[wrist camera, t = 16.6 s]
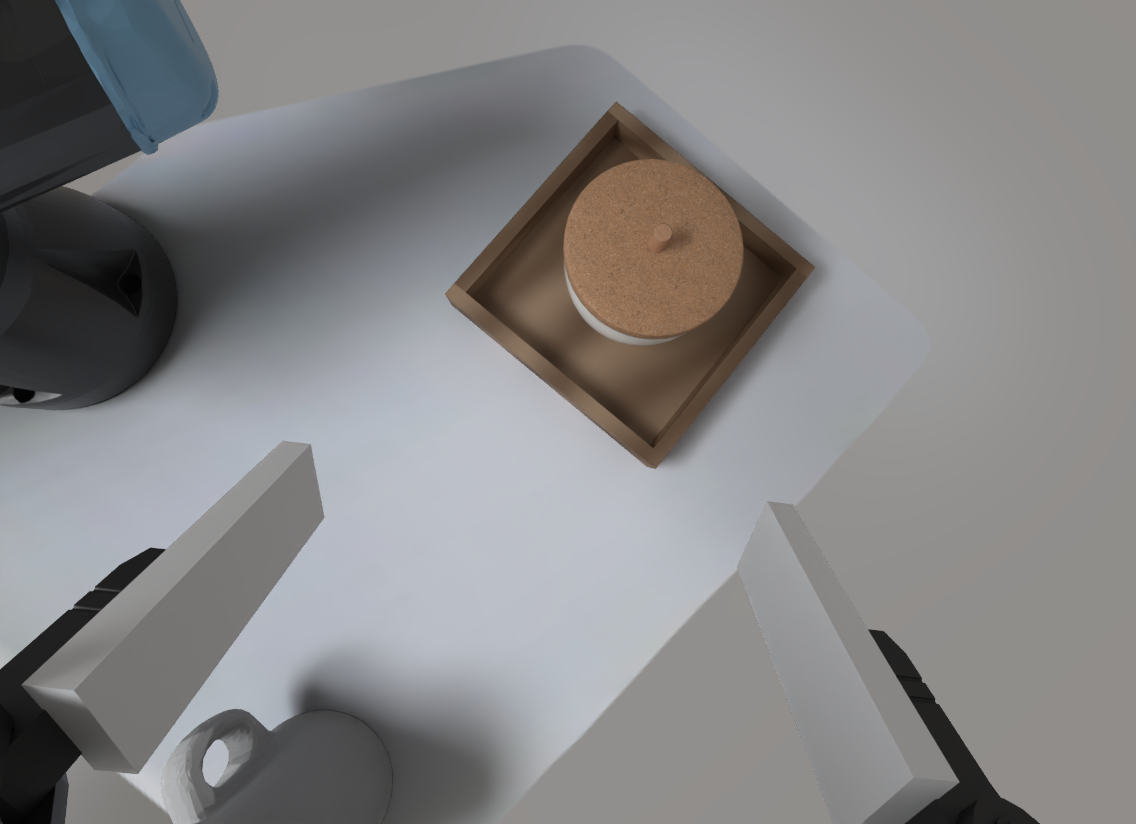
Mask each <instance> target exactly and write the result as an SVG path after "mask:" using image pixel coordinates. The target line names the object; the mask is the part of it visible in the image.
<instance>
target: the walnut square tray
mask: <svg viewBox="0 0 1136 824" xmlns="http://www.w3.org/2000/svg"><path fill="white" fill-rule="evenodd" d="M644 159H657V160H665V161H670V162H674V163H678V164H682V165H684V166H686V167H688V168H690V169H693V170H695V171H696V172H698V173H699V174H701V175H703V176H704V177H706V176H705V175H704V174H703V173H702V172H700V171H699V170H698V169H697V168H696V167H694V166H693V165H692V164H691V163H690V162H688V161H687V160H686V159H685V158H684V157H682V156H681V155H680V154H679V153H678V152H676V151H675V150H674V149H673V148H672V147H670V146H669V145H668V144H667V143H666V142H664V141H663V140H662V139H661V138H660V137H658V136H657V135H656V134H655V133H654V132H652V131H651V130H650V129H649V128H648V127H646V126H645V125H644V124H643V123H642V122H640V121H639V120H638V119H637V118H636V117H634V116H633V115H632V114H631V113H630V112H628V111H627V110H626V109H625V108H624V107H622V106H621V105H620V104H619V103H618V102H615V103H614V104H613V106H612V107H611V108H610V109H609V110H608V111H607V112H606V113H605V115H604V116H603V117H602V118H601V119H600V120H599V121H598V122H597V124H596V125H595V126H594V127H593V128H592V129H591V130H590V131H589V133H588V134H587V135H586V136H585V137H584V138H583V139H582V140H581V142H580V143H579V144H578V145H577V146H576V147H575V148H574V149H573V150H572V152H571V153H570V154H569V155H568V156H567V157H566V158H565V159H564V161H563V162H562V163H561V164H560V165H559V166H558V167H557V168H556V170H555V171H554V172H553V173H552V174H551V175H550V176H549V177H548V179H547V180H546V181H545V182H544V183H543V184H542V185H541V186H540V188H539V189H538V190H537V191H536V192H535V193H534V194H533V195H532V197H531V198H530V199H529V200H528V201H527V202H526V203H525V204H524V206H523V207H522V208H521V209H520V210H519V211H518V212H517V213H516V215H515V216H514V217H513V218H512V219H511V220H510V221H509V222H508V224H507V225H506V226H505V227H504V228H503V229H502V230H501V231H500V233H499V234H498V235H497V236H496V237H495V238H494V239H493V240H492V242H491V243H490V244H489V245H488V246H487V247H486V248H485V249H484V251H483V252H482V253H481V254H480V255H479V256H478V257H477V258H476V260H475V261H474V262H473V263H472V264H471V265H470V266H469V267H468V269H467V270H466V271H465V272H464V273H463V274H462V275H461V276H460V278H459V279H458V280H457V281H456V282H455V283H454V284H453V285H452V287H451V288H450V289H449V290H448V291H447V292H446V293H445V295H446V297H447V298H448V300H449V301H450V303H451V304H452V306H454V307H455V308H456V309H457V310H459V311H460V312H461V313H462V314H463V315H465V316H466V317H467V318H468V319H469V320H471V321H472V322H473V323H474V324H475V325H477V326H478V327H479V328H480V329H481V330H483V331H484V332H485V333H486V334H487V335H489V336H490V337H491V338H492V339H494V340H495V341H496V342H497V343H498V344H500V345H501V346H502V347H503V348H504V349H506V350H507V351H508V352H509V353H510V354H512V355H513V356H514V357H515V358H516V359H518V360H519V361H520V362H521V363H522V364H524V365H525V366H526V367H527V368H529V369H530V370H531V371H532V372H533V373H535V374H536V375H537V376H538V377H539V378H541V379H542V380H543V381H544V382H545V383H547V384H548V385H549V386H550V387H551V388H553V389H554V390H555V391H556V392H557V393H559V394H560V395H561V396H562V397H564V398H565V399H566V400H567V401H568V402H570V403H571V404H572V405H573V406H574V407H576V408H577V409H578V410H579V411H580V412H582V413H583V414H584V415H585V416H586V417H588V418H589V419H590V420H591V421H592V422H594V423H595V424H596V425H597V426H599V427H600V428H601V429H602V430H603V431H605V432H606V433H607V434H608V435H609V436H611V437H612V438H613V439H614V440H615V441H617V442H618V443H619V444H620V445H621V446H623V447H624V448H625V449H626V450H627V451H629V452H630V453H631V454H632V455H634V456H635V457H636V458H637V459H638V460H640V461H641V462H642V463H643V464H644V465H646V466H647V467H650V468H655V469H656V468H657V467H658V465H659V464H660V463H661V462H662V460H663V459H664V458H665V456H666V455H667V454H668V453H669V451H670V450H671V449H672V448H673V446H674V445H675V444H676V443H677V441H678V440H679V439H680V438H681V436H682V435H683V434H684V432H685V431H686V430H687V429H688V427H689V426H690V425H691V424H692V422H693V421H694V420H695V419H696V417H697V416H698V415H699V414H700V412H701V411H702V410H703V408H704V407H705V406H706V405H707V403H708V402H709V401H710V400H711V398H712V397H713V396H714V395H715V393H716V392H717V391H718V390H719V388H720V387H721V386H722V384H723V383H724V382H725V381H726V379H727V378H728V377H729V376H730V374H731V373H732V372H733V371H734V369H735V368H736V367H737V366H738V364H739V363H740V362H741V360H742V359H743V358H744V357H745V355H746V354H747V353H748V352H749V350H750V349H751V348H752V347H753V345H754V344H755V343H756V342H757V340H758V339H759V338H760V336H761V335H762V334H763V333H764V331H765V330H766V329H767V328H768V326H769V325H770V324H771V323H772V321H773V320H774V319H775V318H776V316H777V315H778V314H779V312H780V311H781V310H782V309H783V307H784V306H785V305H786V304H787V302H788V301H789V300H790V299H791V297H792V296H793V295H794V294H795V292H796V291H797V290H798V288H799V287H800V286H801V285H802V283H803V282H804V281H805V280H806V278H807V277H808V276H809V275H810V273H811V272H812V271H813V270H814V268H815V267H814V266H813V265H812V264H811V263H809V262H808V261H807V260H806V259H805V258H803V257H802V256H801V255H800V254H799V253H797V252H796V251H795V250H794V249H793V248H791V247H790V246H789V245H788V244H787V243H785V242H784V241H783V240H782V239H781V238H779V237H778V236H777V235H776V234H775V233H773V232H772V231H771V230H770V229H769V228H767V227H766V226H765V225H764V224H763V223H761V222H760V221H759V220H758V219H757V218H755V217H754V216H753V215H752V214H751V213H750V212H748V211H747V210H746V209H745V208H744V207H742V206H741V205H740V204H739V203H738V202H736V201H735V200H734V199H733V198H732V197H730V196H729V195H728V194H727V193H726V192H724V191H723V190H722V189H721V188H720V187H718V186H717V185H716V184H715V183H714V182H712V181H711V180H710V179H709V178H708V177H706V178H707V179H708V180H709V181H710V182H712V183H713V184H714V185H715V186H716V187H717V188H718V189H719V190H720V191H721V193H722V194H723V195H724V196H725V197H726V199H727V200H728V202H729V204H730V205H731V207H732V208H733V210H734V213H735V215H736V217H737V219H738V222H739V225H740V229H741V233H742V238H743V247H744V253H743V265H742V270H741V275H740V278H739V280H738V283H737V286H736V288H735V290H734V292H733V294H732V295H731V297H730V299H729V300H728V302H727V303H726V304H725V305H724V306H723V308H722V309H721V310H720V311H719V312H718V313H717V314H716V315H715V316H713V317H712V318H711V319H710V320H709V321H707V322H706V323H704V324H703V325H701V326H699V327H698V328H696V329H695V330H692V331H690V332H688V333H686V334H684V335H682V336H680V337H678V338H676V339H673V340H671V341H668V342H664V343H660V344H656V345H647V346H637V345H627V344H623V343H619V342H616V341H613V340H611V339H608V338H606V337H605V336H603V335H601V334H600V333H598V332H597V331H595V330H594V329H593V328H592V327H591V326H590V325H588V323H587V322H586V321H585V320H584V319H583V318H582V317H581V315H580V314H579V312H578V310H577V309H576V307H575V305H574V304H573V301H572V299H571V297H570V294H569V292H568V288H567V284H566V279H565V272H564V253H563V245H564V233H565V228H566V224H567V220H568V216H569V214H570V211H571V209H572V207H573V204H574V203H575V201H576V200H577V198H578V197H579V195H580V193H581V192H582V191H583V190H584V189H585V188H586V187H587V185H588V184H589V183H590V182H591V181H593V180H594V179H595V178H596V177H598V176H599V175H600V174H602V173H603V172H605V171H607V170H609V169H610V168H612V167H615V166H617V165H620V164H623V163H625V162H630V161H635V160H644Z"/></svg>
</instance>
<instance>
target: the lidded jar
mask: <svg viewBox="0 0 1136 824" xmlns="http://www.w3.org/2000/svg"><path fill="white" fill-rule="evenodd" d="M563 253H564V272H565V279H566V284H567V288H568V292H569V294H570V297H571V299H572V301H573V304H574V305H575V307H576V309H577V310H578V312H579V314H580V315H581V317H582V318H583V319H584V320H585V321H586V322H587V323H588V325H590V326H591V327H592V328H593V329H594V330H595V331H597V332H598V333H600V334H601V335H603V336H605V337H606V338H608V339H611V340H613V341H616V342H619V343H623V344H627V345H637V346H647V345H656V344H660V343H664V342H668V341H671V340H673V339H676V338H678V337H680V336H682V335H684V334H686V333H688V332H690V331H692V330H695V329H696V328H698V327H699V326H701V325H703V324H704V323H706V322H707V321H709V320H710V319H711V318H712V317H713V316H715V315H716V314H717V313H718V312H719V311H720V310H721V309H722V308H723V306H724V305H725V304H726V303H727V302H728V300H729V299H730V297H731V295H732V294H733V292H734V290H735V288H736V286H737V283H738V280H739V278H740V275H741V270H742V265H743V253H744V247H743V238H742V233H741V229H740V225H739V222H738V219H737V217H736V215H735V213H734V210H733V208H732V207H731V205H730V204H729V202H728V200H727V199H726V197H725V196H724V195H723V194H722V193H721V191H720V190H719V189H718V188H717V187H716V186H715V185H714V184H713V183H712V182H710V181H709V180H708V179H707V178H706V177H704V176H703V175H701V174H699V173H698V172H696V171H695V170H693V169H690V168H688V167H686V166H684V165H682V164H678V163H674V162H670V161H665V160H657V159H644V160H635V161H630V162H625V163H623V164H620V165H617V166H615V167H612V168H610V169H609V170H607V171H605V172H603V173H602V174H600V175H599V176H598V177H596V178H595V179H594V180H593V181H591V182H590V183H589V184H588V185H587V187H586V188H585V189H584V190H583V191H582V192H581V193H580V195H579V197H578V198H577V200H576V201H575V203H574V204H573V207H572V209H571V211H570V214H569V216H568V220H567V224H566V228H565V233H564V245H563Z"/></svg>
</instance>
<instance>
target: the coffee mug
mask: <svg viewBox="0 0 1136 824" xmlns="http://www.w3.org/2000/svg"><path fill="white" fill-rule="evenodd" d="M218 739H220V740H222V741H223V742H224V743H225V745H226V747H227V748H228V751H229V761H228V765H227V767H226V769H225V771H224V774H223V775H222V777H221V778H220V780H219V781H218V783H217V784H216V785H215V786H214V787H212V786H210V785H209V784H208V783H207V782H205V779H204V776H203V772H202V766H203V758H204V756H205V754H206V751H207V750H208V748H209V747H210V746H211V744H212V743H213V742H214V741H215V740H218ZM161 779H162V781H161V787H162V796H163V799H164V803H165V806H166V809H167V811H168V813H169V815H170V817H171V819H172V821H173V823H174V824H382V821H383V819H384V816H385V814H386V812H387V809H388V806H389V803H390V799H391V794H392V783H393V776H392V768H391V763H390V759H389V756H388V753H387V751H386V748H385V747H384V745H383V743H382V742H381V740H380V739H379V737H378V736H377V735H376V733H375V732H374V731H373V730H372V729H370V728H369V727H368V726H367V725H366V724H365V723H363V722H362V721H361V720H359V719H357V718H355V717H353V716H351V715H348V714H345V713H342V712H336V711H325V710H321V711H312V712H307V713H303V714H300V715H297V716H295V717H293V718H291V719H288V720H286V721H285V722H283V723H281V724H280V725H278V726H277V727H276V728H274V729H273V730H272V731H268V730H267V729H266V728H265V727H264V726H263V725H262V724H261V723H260V722H259V721H258V720H257V719H256V718H254V717H253V716H252V715H251V714H250V713H249V712H246V711H244V710H242V709H232V710H227V711H224V712H222V713H219V714H217V715H215V716H213V717H211V718H210V719H208V720H206V721H205V722H203V723H201V724H200V725H199V726H197V727H196V728H195V729H194V730H193V731H191V732H190V733H189V734H188V735H187V736H186V737H185V738H184V739H183V740H182V741H181V742H180V743H179V745H178V746H177V747H176V748H175V749H174V751H173V752H172V753H171V755H170V757H169V759H168V761H167V763H166V765H165V767H164V771H163V774H162V778H161Z"/></svg>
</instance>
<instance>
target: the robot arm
mask: <svg viewBox="0 0 1136 824" xmlns="http://www.w3.org/2000/svg"><path fill="white" fill-rule="evenodd" d="M217 101H218V83H217V79H216V75H215V72H214V69H213V66H212V63H211V61H210V58H209V56H208V54H207V52H206V50H205V47H204V45H203V43H202V41H201V39H200V37H199V35H198V33H197V31H196V29H195V27H194V26H193V24H192V22H191V20H190V18H189V16H188V14H187V12H186V11H185V9H184V7H183V5H182V3H181V2H180V0H0V405H1V406H7V407H16V408H31V409H45V410H66V409H74V408H80V407H85V406H89V405H92V404H96V403H98V402H101V401H104V400H106V399H108V398H111V397H113V396H115V395H116V394H118V393H120V392H122V391H123V390H125V389H126V388H128V387H129V386H131V385H132V384H133V383H135V382H136V381H137V380H138V379H139V378H140V377H142V376H143V375H144V374H145V373H146V372H147V371H148V369H149V368H150V367H151V366H152V365H153V364H154V362H155V361H156V360H157V358H158V357H159V355H160V354H161V352H162V350H163V349H164V347H165V345H166V343H167V341H168V338H169V336H170V333H171V330H172V327H173V324H174V319H175V314H176V302H177V297H176V285H175V280H174V276H173V272H172V269H171V266H170V264H169V261H168V259H167V257H166V255H165V253H164V252H163V250H162V248H161V247H160V245H159V244H158V242H157V241H156V240H155V239H154V237H153V236H152V235H151V234H150V233H149V232H148V231H147V230H146V229H145V228H144V227H143V226H141V225H140V224H139V223H138V222H136V221H135V220H133V219H132V218H130V217H129V216H127V215H125V214H123V213H122V212H120V211H118V210H116V209H114V208H113V207H111V206H109V205H107V204H105V203H103V202H102V201H100V200H98V199H96V198H94V197H92V196H89V195H87V194H84V193H81V192H79V191H76V190H74V189H71V188H67V187H63V185H65V184H67V183H69V182H71V181H74V180H76V179H78V178H81V177H83V176H85V175H87V174H90V173H92V172H94V171H96V170H99V169H101V168H103V167H105V166H107V165H110V164H112V163H114V162H117V161H119V160H121V159H123V158H126V157H128V156H130V155H132V154H135V153H137V152H139V151H141V150H142V152H143V153H146V154H147V155H149V154H153V153H155V152H156V151H157V150H158V144H159V143H161V142H163V141H165V140H167V139H169V138H171V137H173V136H175V135H177V134H179V133H181V132H183V131H185V130H187V129H189V128H191V127H193V126H195V125H197V124H198V123H200V122H202V121H204V120H205V119H207V118H208V117H209V116H210V115H211V114H212V113H213V111H214V110H215V108H216V105H217ZM323 519H324V513H323V507H322V502H321V497H320V492H319V486H318V481H317V476H316V471H315V465H314V460H313V455H312V450H311V444H304V443H296V442H288V441H282V442H281V443H280V444H279V445H278V446H277V447H276V448H275V449H273V450H272V451H271V452H270V453H269V454H268V455H267V456H266V457H265V458H264V459H263V460H262V461H261V462H260V463H258V464H257V465H256V466H255V467H254V468H253V469H252V470H251V471H250V472H249V473H248V474H247V475H246V476H245V477H243V478H242V479H241V480H240V481H239V482H238V483H237V484H236V485H235V486H234V487H233V488H232V489H231V490H230V491H229V492H227V493H226V494H225V495H224V496H223V497H222V498H221V499H220V500H219V501H218V502H217V503H216V504H215V505H214V506H212V507H211V508H210V509H209V510H208V511H207V512H206V513H205V514H204V515H203V516H202V517H201V518H200V519H199V520H197V521H196V522H195V523H194V524H193V525H192V526H191V527H190V528H189V529H188V530H187V531H186V532H185V533H184V534H182V535H181V536H180V537H179V538H178V539H177V540H176V541H175V542H174V543H173V544H172V545H171V546H170V547H169V548H167V549H158V548H149V549H147V550H146V551H144V552H142V553H140V554H139V555H137V556H135V557H133V558H131V559H130V560H128V561H126V562H124V563H123V564H121V565H119V566H118V567H117V568H116V569H115V570H114V571H112V572H111V573H110V574H109V575H108V576H107V577H106V578H104V579H103V580H102V581H101V582H100V583H99V584H98V585H96V586H95V589H94V591H90V592H88V593H87V594H86V595H85V596H84V597H83V598H82V599H80V600H79V601H78V602H77V603H76V604H75V605H74V608H73V609H72V610H68V611H67V612H66V613H64V614H63V615H62V616H61V617H60V618H59V619H57V620H56V621H55V622H54V623H53V624H52V625H51V626H49V627H48V628H47V629H46V630H45V631H44V632H43V633H41V634H40V635H39V636H38V637H37V638H36V639H35V640H33V641H32V642H31V643H30V644H29V645H28V646H27V647H25V648H24V649H23V650H22V651H21V652H20V653H19V654H17V655H16V656H15V657H14V658H13V659H12V660H11V661H9V662H8V663H7V664H6V665H5V666H4V667H3V668H1V669H0V824H65V816H66V806H67V797H68V787H69V784H68V780H67V775H66V772H67V770H68V769H69V768H70V767H71V766H72V764H73V763H74V762H75V761H76V760H77V759H78V757H79V756H80V755H82V756H83V757H84V758H85V760H86V761H87V762H88V763H89V764H90V765H91V767H93V769H94V770H102V771H112V772H122V773H132V774H138V773H139V772H140V770H141V769H142V768H143V766H144V765H145V764H146V762H147V761H148V759H149V758H150V757H151V755H152V754H153V753H154V751H155V750H156V748H157V747H158V746H159V744H160V743H161V742H162V740H163V739H164V737H165V736H166V735H167V733H168V732H169V730H170V729H171V728H172V726H173V725H174V724H175V722H176V721H177V719H178V718H179V717H180V715H181V714H182V713H183V711H184V710H185V708H186V707H187V706H188V704H189V703H190V702H191V700H192V699H193V697H194V696H195V695H196V693H197V692H198V691H199V689H200V688H201V686H202V685H203V684H204V682H205V681H206V680H207V678H208V677H209V675H210V674H211V673H212V671H213V670H214V669H215V667H216V666H217V664H218V663H219V662H220V660H221V659H222V658H223V656H224V655H225V653H226V652H227V651H228V649H229V648H230V647H231V645H232V644H233V642H234V641H235V640H236V638H237V637H238V636H239V634H240V633H241V631H242V630H243V629H244V627H245V626H246V625H247V623H248V622H249V620H250V619H251V618H252V616H253V615H254V614H255V612H256V611H257V609H258V608H259V607H260V605H261V604H262V603H263V601H264V600H265V598H266V597H267V596H268V594H269V593H270V591H271V590H272V589H273V587H274V586H275V585H276V583H277V582H278V580H279V579H280V578H281V576H282V575H283V574H284V572H285V571H286V569H287V568H288V567H289V565H290V564H291V563H292V561H293V560H294V558H295V557H296V556H297V554H298V553H299V552H300V550H301V549H302V547H303V546H304V545H305V543H306V542H307V541H308V539H309V538H310V536H311V535H312V534H313V532H314V531H315V530H316V528H317V527H318V525H319V524H320V523H321V521H322V520H323ZM737 568H738V571H739V573H740V576H741V579H742V581H743V584H744V587H745V589H746V592H747V595H748V597H749V600H750V602H751V605H752V608H753V611H754V613H755V616H756V619H757V622H758V624H759V627H760V630H761V632H762V635H763V637H764V640H765V643H766V646H767V648H768V651H769V654H770V656H771V659H772V662H773V664H774V667H775V670H776V672H777V675H778V678H779V681H780V683H781V686H782V688H783V691H784V694H785V697H786V699H787V702H788V705H789V707H790V710H791V712H792V715H793V718H794V721H795V723H796V726H797V728H798V731H799V734H800V737H801V739H802V742H803V744H804V747H805V750H806V753H807V755H808V758H809V761H810V763H811V766H812V769H813V772H814V774H815V777H816V780H817V782H818V785H819V788H820V790H821V793H822V796H823V798H824V801H825V804H826V806H827V809H828V812H829V815H830V817H831V820H832V822H833V824H1040V823H1038V822H1037V821H1036V820H1035V819H1034V818H1032V817H1031V816H1030V815H1029V814H1028V813H1026V812H1025V811H1024V810H1023V809H1021V808H1020V807H1018V806H1016V805H1014V804H1012V803H1010V802H1009V801H1007V800H1005V799H1003V798H1001V797H1000V796H999V795H998V793H997V792H996V791H995V789H994V788H993V787H992V785H991V784H990V782H989V781H988V779H987V778H986V776H985V775H984V773H983V772H982V770H981V768H980V767H979V765H978V764H977V762H976V761H975V759H974V758H973V756H972V755H971V753H970V751H969V750H968V749H967V747H966V746H965V744H964V742H963V741H962V739H961V738H960V736H959V735H958V733H957V731H956V730H955V728H954V727H953V725H952V724H951V722H950V721H949V719H948V718H947V716H946V715H945V713H944V712H943V710H942V708H941V707H940V705H939V704H936V702H935V698H934V696H933V694H932V693H931V692H930V690H929V688H928V687H927V685H926V684H925V683H923V682H922V678H921V676H920V675H919V673H918V671H917V670H916V668H915V667H914V665H913V664H912V662H911V661H910V659H909V658H908V656H907V654H906V653H905V652H904V651H903V650H902V649H901V648H900V647H899V646H898V645H897V644H896V643H895V642H894V641H893V640H892V639H891V638H890V637H889V636H888V635H887V634H886V633H885V632H884V631H877V630H869V629H867V627H866V626H865V624H864V622H863V621H862V619H861V617H860V616H859V614H858V612H857V611H856V609H855V607H854V606H853V604H852V602H851V601H850V599H849V597H848V596H847V594H846V592H845V591H844V589H843V587H842V586H841V584H840V583H839V581H838V579H837V577H836V576H835V574H834V572H833V571H832V569H831V568H830V566H829V564H828V562H827V561H826V559H825V557H824V556H823V554H822V552H821V551H820V549H819V547H818V546H817V544H816V542H815V541H814V539H813V538H812V536H811V534H810V533H809V531H808V529H807V527H806V526H805V524H804V523H803V521H802V519H801V518H800V516H799V515H798V513H797V511H796V509H795V507H794V506H793V505H791V504H783V503H775V502H767V503H766V505H765V507H764V509H763V512H762V514H761V516H760V518H759V520H758V522H757V525H756V527H755V529H754V531H753V533H752V535H751V538H750V540H749V542H748V544H747V546H746V548H745V550H744V553H743V555H742V557H741V559H740V561H739V563H738V566H737Z"/></svg>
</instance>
